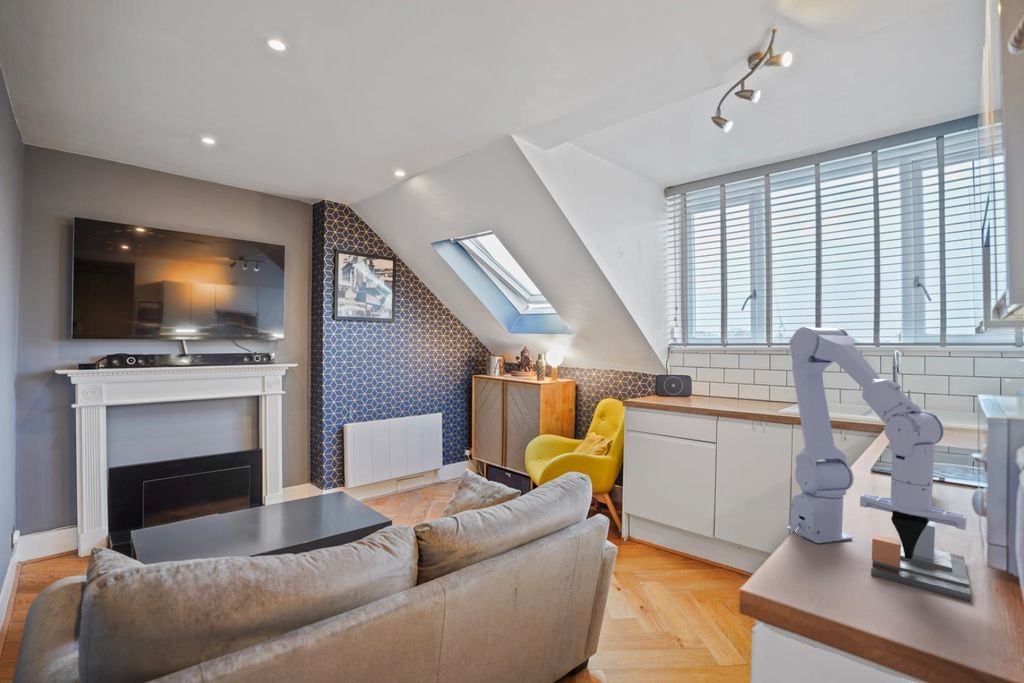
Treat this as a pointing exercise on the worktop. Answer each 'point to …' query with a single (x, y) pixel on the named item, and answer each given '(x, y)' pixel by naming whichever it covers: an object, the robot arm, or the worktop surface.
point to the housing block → (926, 542)
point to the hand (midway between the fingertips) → (908, 557)
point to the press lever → (886, 550)
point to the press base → (929, 573)
